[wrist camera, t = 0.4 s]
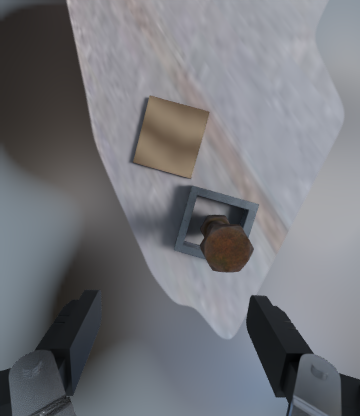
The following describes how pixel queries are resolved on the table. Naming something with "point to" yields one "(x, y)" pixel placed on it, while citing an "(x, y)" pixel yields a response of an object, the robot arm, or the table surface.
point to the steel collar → (249, 206)
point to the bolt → (224, 244)
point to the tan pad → (170, 136)
